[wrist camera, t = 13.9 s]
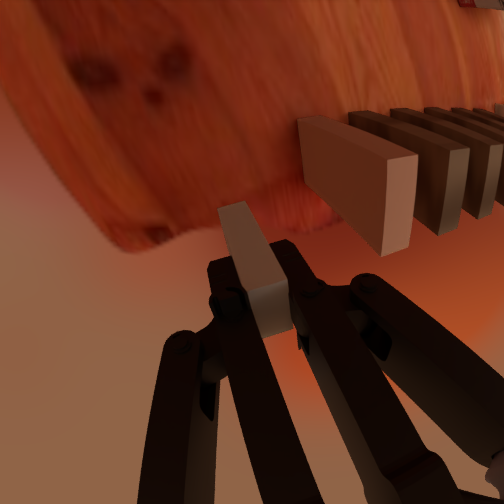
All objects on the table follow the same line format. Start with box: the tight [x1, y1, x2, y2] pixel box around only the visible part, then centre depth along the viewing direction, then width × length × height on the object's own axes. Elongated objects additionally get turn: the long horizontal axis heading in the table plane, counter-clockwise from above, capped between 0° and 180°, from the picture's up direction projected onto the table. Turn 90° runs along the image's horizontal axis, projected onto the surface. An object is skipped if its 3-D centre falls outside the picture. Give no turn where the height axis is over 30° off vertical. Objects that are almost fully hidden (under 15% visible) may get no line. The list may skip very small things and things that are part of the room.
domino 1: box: [297, 115, 418, 257], centre depth 19 cm, size 6×2×12 cm, turn 11°
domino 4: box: [452, 108, 504, 132], centre depth 21 cm, size 6×2×12 cm, turn 11°
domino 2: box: [348, 110, 470, 236], centre depth 20 cm, size 6×2×12 cm, turn 11°
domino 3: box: [391, 108, 503, 219], centre depth 20 cm, size 6×2×12 cm, turn 11°
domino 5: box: [425, 107, 504, 206], centre depth 21 cm, size 6×2×12 cm, turn 11°
